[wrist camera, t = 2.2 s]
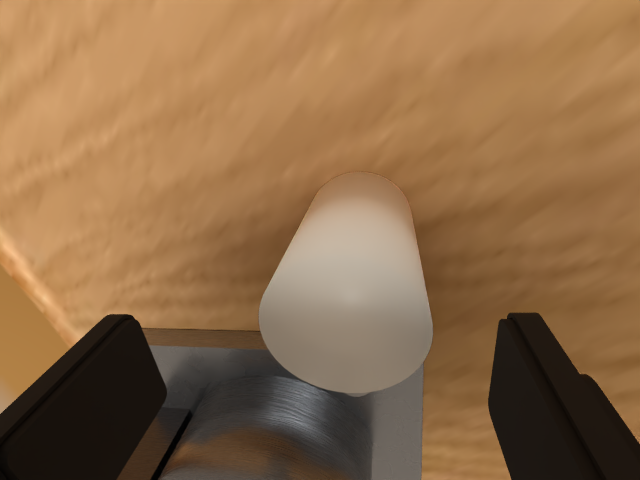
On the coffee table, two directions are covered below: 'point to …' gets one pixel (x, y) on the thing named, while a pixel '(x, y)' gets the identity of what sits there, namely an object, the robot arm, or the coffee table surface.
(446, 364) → the coffee table surface
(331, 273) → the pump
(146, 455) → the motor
